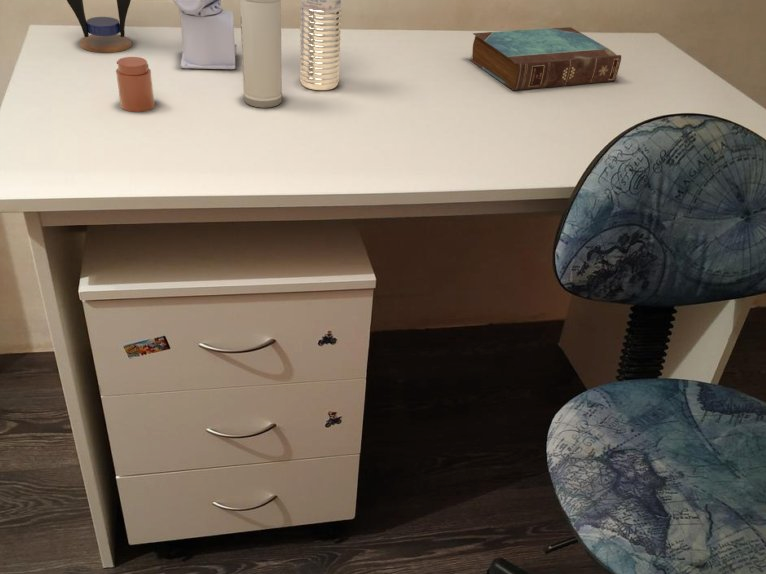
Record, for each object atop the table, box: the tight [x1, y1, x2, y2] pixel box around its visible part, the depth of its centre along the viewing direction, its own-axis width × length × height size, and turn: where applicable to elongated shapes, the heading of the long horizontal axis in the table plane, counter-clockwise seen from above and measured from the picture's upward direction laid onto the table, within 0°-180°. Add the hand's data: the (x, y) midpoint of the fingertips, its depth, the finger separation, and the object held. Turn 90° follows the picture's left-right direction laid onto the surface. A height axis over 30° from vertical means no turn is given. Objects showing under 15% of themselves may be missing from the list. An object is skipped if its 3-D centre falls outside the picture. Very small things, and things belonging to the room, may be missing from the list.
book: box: [469, 26, 622, 92], centre depth 154 cm, size 23×18×5 cm
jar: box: [115, 56, 156, 113], centre depth 126 cm, size 5×5×7 cm
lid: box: [86, 16, 120, 36], centre depth 147 cm, size 6×6×2 cm
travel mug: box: [239, 0, 283, 109], centre depth 127 cm, size 6×7×20 cm
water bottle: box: [299, 0, 342, 91], centre depth 133 cm, size 7×7×25 cm
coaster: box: [79, 33, 132, 54], centre depth 148 cm, size 9×9×1 cm
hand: (104, 35), depth 148 cm, fingers closed on lid, 6 cm apart
